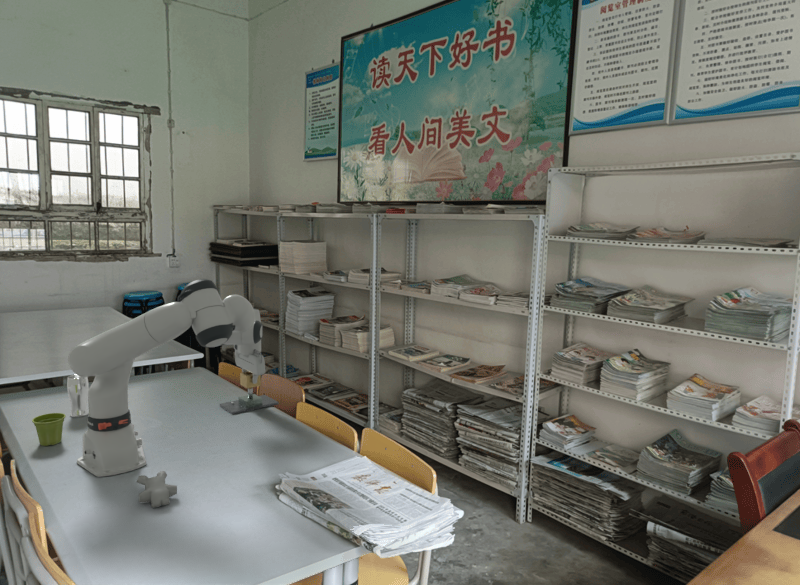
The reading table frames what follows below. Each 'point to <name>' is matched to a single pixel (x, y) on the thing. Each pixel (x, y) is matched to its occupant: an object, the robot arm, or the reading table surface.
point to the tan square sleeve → (249, 380)
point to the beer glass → (78, 395)
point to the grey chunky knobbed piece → (156, 489)
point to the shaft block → (248, 403)
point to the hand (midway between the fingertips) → (250, 381)
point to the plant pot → (49, 428)
